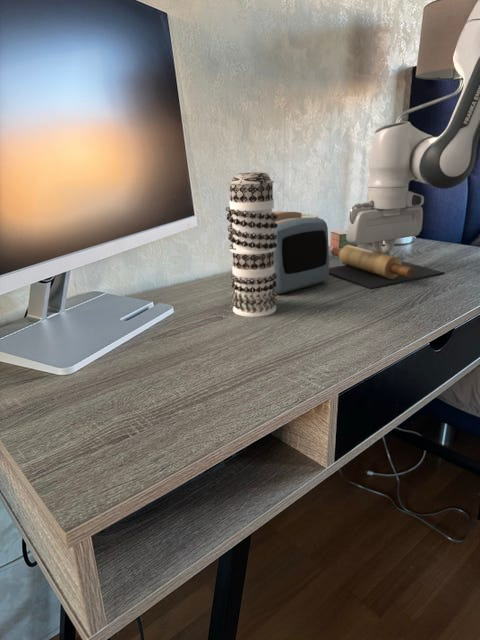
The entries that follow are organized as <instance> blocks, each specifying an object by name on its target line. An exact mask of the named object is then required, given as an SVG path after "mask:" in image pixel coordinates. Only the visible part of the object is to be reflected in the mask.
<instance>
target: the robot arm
mask: <svg viewBox="0 0 480 640" xmlns="http://www.w3.org/2000/svg"><path fill="white" fill-rule="evenodd" d="M452 61H453V65H454V68H455V71H456V72H457V74H458V75H459V76H460V77H461V78H462V79H463V87H462V90H461V94H460V95H459V98H458V100H457V103H456V106H455V108H454V110H453V112H452V115H451V117H450V120H449V122H448V124H447V126H446V128H445V129H444V131H443V132H442V133H441V134H440V135H439V136H433V135H431V134H428V133H426V132H424V131H421V130H419V129H418V128H417V127H415V126H413V124H412V123H411V122H410V121H406V120H405V121H403V120H402V121H398V122H393V123H389V124H385V125H383V126H379V127H378V128H376V130H375V131H374V132H373V135H372V138H371V141H370V149H369V157H368V158H369V160H368V168H369V180H368V183H367V190H366V201H365V202H356V203H354V205H353V206H352V207H351V208H350V210H349V218H348V222H347V227H346V230H347V234H346V240H347V241H348V243H350V244H353V245H357V246H361V245H368V244H372V247H373V249H374V251H375V252H379V253H382V254H386V255H390V256H391V251H392V250H393V248H394V246H395V244H396V240H398V239H405V238H410V237H417V236H419V235H420V233H421V231H422V228H423V220H424V219H423V218H424V211H423V207H422V206H423V205H424V203H425V197H424V196H423V195H421V194H418V193H415V192H413V191H411V190H409V187H410V186H409V185H410V182H411V181H415V182H419V183H422V184H426V185H429V186H432V187H435V188H437V189H442V190H443V189H444V190H446V189H451V188H454V187H457V186H458V185H460V184H462V183H463V182H464V181H465V180H466V179H467V178H468V177H469V176H470V174H471V173H472V171H473V169H474V166H475V163H476V158H477V150H478V144H479V140H480V0H477V1H476V3H475V5H474V7H473V9H472V10H471V12H470V14H469V16H468V18H467V19H466V22H465V24H464V26H463V28H462V30H461V33H460V34H459V37H458V40H457V43H456V46H455V50H454V53H453V57H452ZM383 246H384V247H383ZM382 247H383V248H382Z"/></svg>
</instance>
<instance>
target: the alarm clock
mask: <svg viewBox="0 0 480 640" xmlns="http://www.w3.org/2000/svg"><path fill="white" fill-rule="evenodd" d="M272 213H275V214H276V215H277V216H278V217H277V218H276V219H275V220H272V223H274V222H275V223H276V224H277V225H278V226H277V227H276V228H275V229H274V228H272V234H273V233H274V234H275V235H276V236H277V238H276V239H274V240H272V243H273V242H274V243H276V244H277V247H276V250H274V251H273V263H274V273H276V279H274V281H276V287H274V289H275V290H276V291H277V293H276V294H277V295H278V294H286V293H289V292H294V291H296V290H297V291H298V290H300V289H304V288H309V287H312V286H314V285H318V284H319V285H320V284H322V283H325V282H326V281H327V280H328V279H329V276H330V274H329V268H330V244H329V228H328V225H327V222H326V221H325V219H323V218H320V217H318V218H302V214H303V213H302V212H300V211H272Z"/></svg>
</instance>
